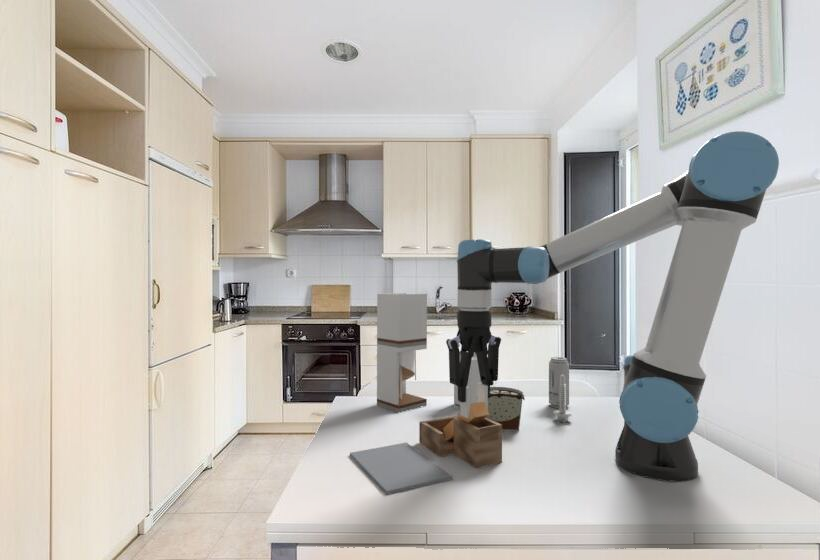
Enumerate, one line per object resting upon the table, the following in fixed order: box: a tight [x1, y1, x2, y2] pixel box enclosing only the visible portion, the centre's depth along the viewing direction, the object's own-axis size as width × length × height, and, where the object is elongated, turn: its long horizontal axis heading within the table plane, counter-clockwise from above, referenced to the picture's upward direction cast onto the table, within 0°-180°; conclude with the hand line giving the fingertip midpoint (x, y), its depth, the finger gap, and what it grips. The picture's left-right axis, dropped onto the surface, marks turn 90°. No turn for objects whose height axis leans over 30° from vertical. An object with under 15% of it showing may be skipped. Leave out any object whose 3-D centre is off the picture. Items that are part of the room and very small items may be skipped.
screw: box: [553, 374, 573, 423], centre depth 122 cm, size 13×5×5 cm
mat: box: [349, 442, 453, 495], centre depth 91 cm, size 20×14×1 cm
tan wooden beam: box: [443, 402, 489, 441], centre depth 100 cm, size 14×4×3 cm
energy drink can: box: [548, 356, 570, 409], centre depth 136 cm, size 6×6×15 cm
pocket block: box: [418, 415, 503, 469], centre depth 100 cm, size 18×14×8 cm
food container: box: [477, 386, 526, 432], centre depth 117 cm, size 12×6×10 cm, turn 84°
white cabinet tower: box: [376, 292, 428, 413], centre depth 136 cm, size 11×11×35 cm
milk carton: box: [453, 350, 482, 406], centre depth 138 cm, size 7×7×19 cm
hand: (474, 414), depth 97 cm, fingers closed on tan wooden beam, 4 cm apart
